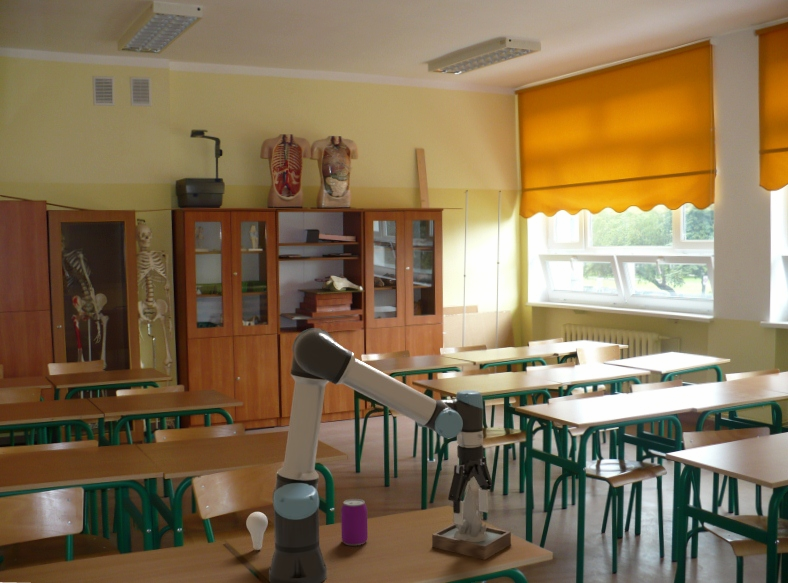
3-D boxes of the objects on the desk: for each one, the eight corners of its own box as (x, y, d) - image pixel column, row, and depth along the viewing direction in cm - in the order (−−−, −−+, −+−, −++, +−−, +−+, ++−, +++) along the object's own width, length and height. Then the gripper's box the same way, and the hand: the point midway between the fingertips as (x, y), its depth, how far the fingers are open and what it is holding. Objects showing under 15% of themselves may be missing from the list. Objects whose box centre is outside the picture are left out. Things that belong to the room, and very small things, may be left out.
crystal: (459, 545, 221) (458, 492, 220) (449, 530, 234) (449, 480, 234) (493, 543, 222) (493, 490, 222) (482, 528, 235) (481, 478, 235)
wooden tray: (432, 546, 228) (432, 534, 228) (459, 532, 240) (459, 520, 240) (484, 559, 218) (484, 546, 217) (510, 544, 229) (510, 531, 229)
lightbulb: (242, 551, 227) (241, 513, 227) (255, 544, 232) (254, 507, 232) (259, 555, 224) (258, 516, 224) (272, 548, 230) (271, 510, 229)
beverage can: (342, 547, 229) (341, 506, 229) (341, 538, 237) (340, 498, 237) (368, 546, 230) (367, 505, 230) (366, 537, 238) (366, 497, 237)
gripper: (457, 455, 216) (458, 531, 216) (503, 438, 235) (504, 508, 236) (435, 451, 220) (436, 526, 221) (481, 435, 240) (482, 504, 241)
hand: (471, 517), depth 228 cm, fingers open, 13 cm apart
